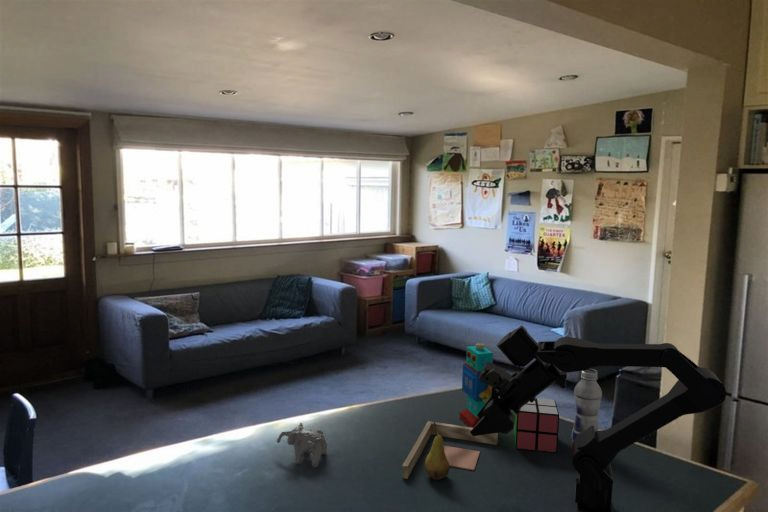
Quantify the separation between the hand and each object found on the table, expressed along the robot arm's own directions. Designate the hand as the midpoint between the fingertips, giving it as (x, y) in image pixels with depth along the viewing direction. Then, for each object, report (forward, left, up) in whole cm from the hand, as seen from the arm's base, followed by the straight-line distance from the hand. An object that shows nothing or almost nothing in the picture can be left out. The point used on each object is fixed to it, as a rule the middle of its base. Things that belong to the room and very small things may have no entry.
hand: (475, 424), depth 119 cm
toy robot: (+4, -31, -14) cm, 34 cm away
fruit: (+8, 0, -14) cm, 16 cm away
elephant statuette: (+40, +3, -14) cm, 43 cm away
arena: (+6, -9, -14) cm, 17 cm away
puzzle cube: (-12, -25, -14) cm, 31 cm away
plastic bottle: (-24, -26, -14) cm, 38 cm away
